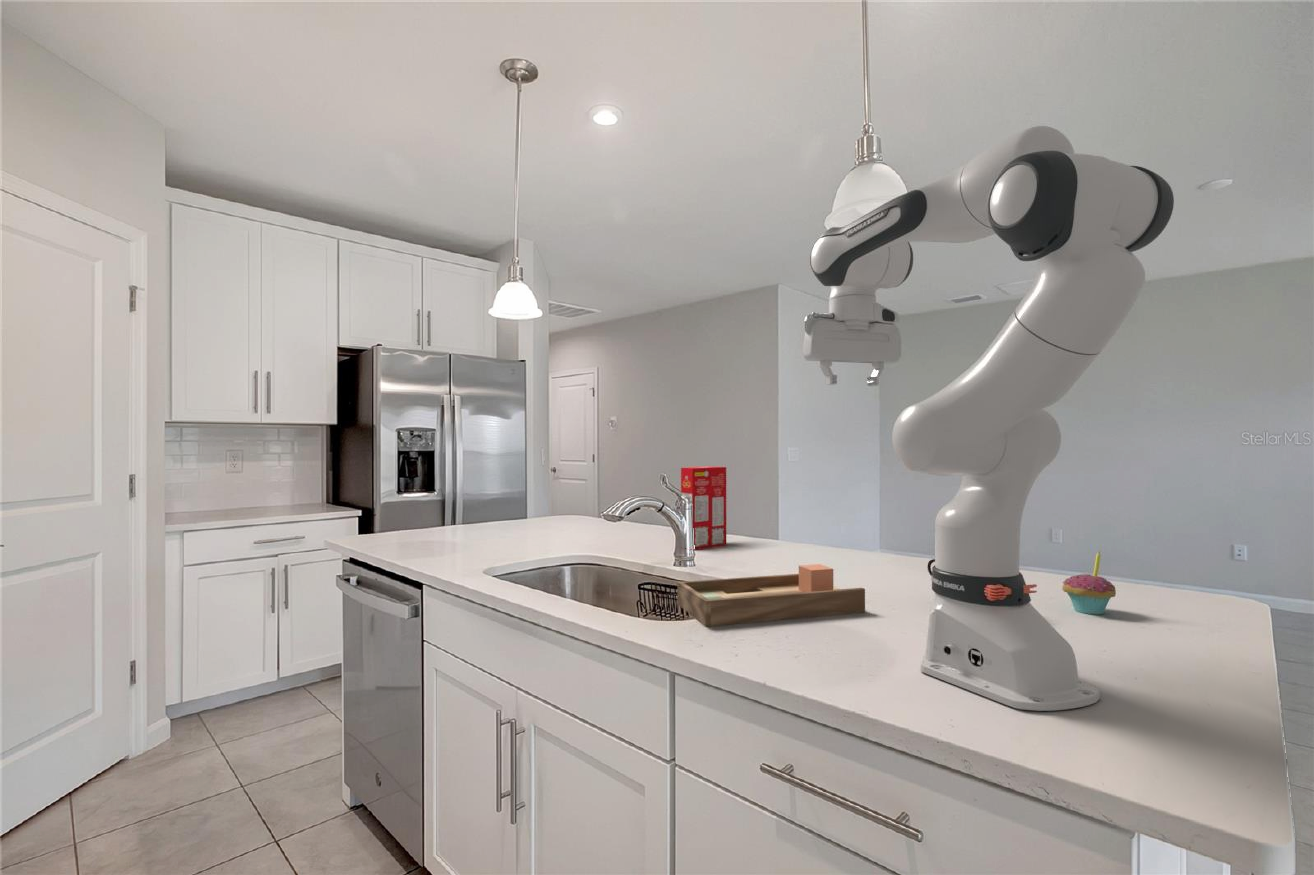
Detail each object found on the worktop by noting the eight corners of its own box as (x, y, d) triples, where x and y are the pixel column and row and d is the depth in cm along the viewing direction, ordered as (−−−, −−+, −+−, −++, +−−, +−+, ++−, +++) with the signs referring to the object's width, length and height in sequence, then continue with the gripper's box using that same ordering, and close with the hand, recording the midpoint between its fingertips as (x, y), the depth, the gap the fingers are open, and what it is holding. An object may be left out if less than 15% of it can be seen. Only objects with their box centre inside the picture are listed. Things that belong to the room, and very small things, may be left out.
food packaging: (714, 543, 203) (714, 466, 204) (726, 545, 199) (726, 467, 200) (681, 548, 194) (680, 467, 194) (692, 550, 190) (692, 468, 190)
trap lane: (865, 612, 121) (865, 588, 121) (705, 626, 111) (705, 601, 112) (820, 592, 136) (820, 572, 136) (677, 604, 127) (677, 581, 127)
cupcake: (1099, 606, 125) (1098, 546, 125) (1126, 618, 117) (1126, 554, 117) (1053, 605, 126) (1053, 545, 126) (1078, 617, 117) (1077, 553, 117)
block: (833, 593, 125) (833, 568, 125) (811, 595, 124) (811, 570, 124) (820, 588, 130) (820, 564, 130) (798, 589, 128) (798, 565, 129)
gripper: (813, 308, 116) (813, 382, 116) (906, 314, 122) (906, 385, 122) (796, 314, 122) (796, 385, 122) (885, 320, 128) (885, 387, 128)
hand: (852, 385), depth 122 cm, fingers open, 8 cm apart
